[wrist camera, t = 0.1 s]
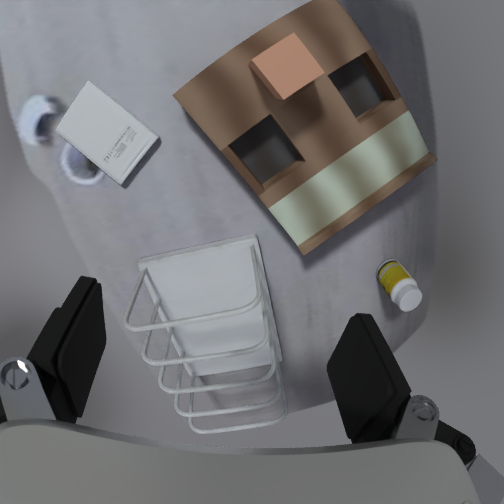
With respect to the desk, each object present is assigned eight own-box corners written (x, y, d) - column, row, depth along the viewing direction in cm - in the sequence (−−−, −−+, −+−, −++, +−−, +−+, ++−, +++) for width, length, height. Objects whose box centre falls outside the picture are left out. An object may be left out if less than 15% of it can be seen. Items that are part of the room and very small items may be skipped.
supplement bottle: (370, 276, 49) (391, 308, 42) (387, 253, 47) (411, 283, 40) (389, 286, 50) (410, 317, 43) (405, 264, 49) (429, 293, 41)
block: (284, 40, 28) (293, 32, 24) (311, 74, 31) (324, 72, 26) (248, 64, 30) (251, 59, 25) (276, 98, 32) (283, 99, 27)
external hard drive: (93, 80, 32) (160, 135, 37) (59, 129, 35) (123, 182, 39) (88, 80, 31) (158, 137, 35) (54, 131, 33) (119, 186, 38)
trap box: (320, -1, 29) (333, -13, 24) (416, 150, 39) (437, 160, 34) (177, 95, 34) (169, 95, 29) (295, 236, 45) (303, 255, 40)
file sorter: (281, 354, 56) (295, 425, 42) (190, 369, 57) (186, 439, 43) (256, 232, 44) (269, 301, 30) (139, 257, 45) (109, 329, 31)
